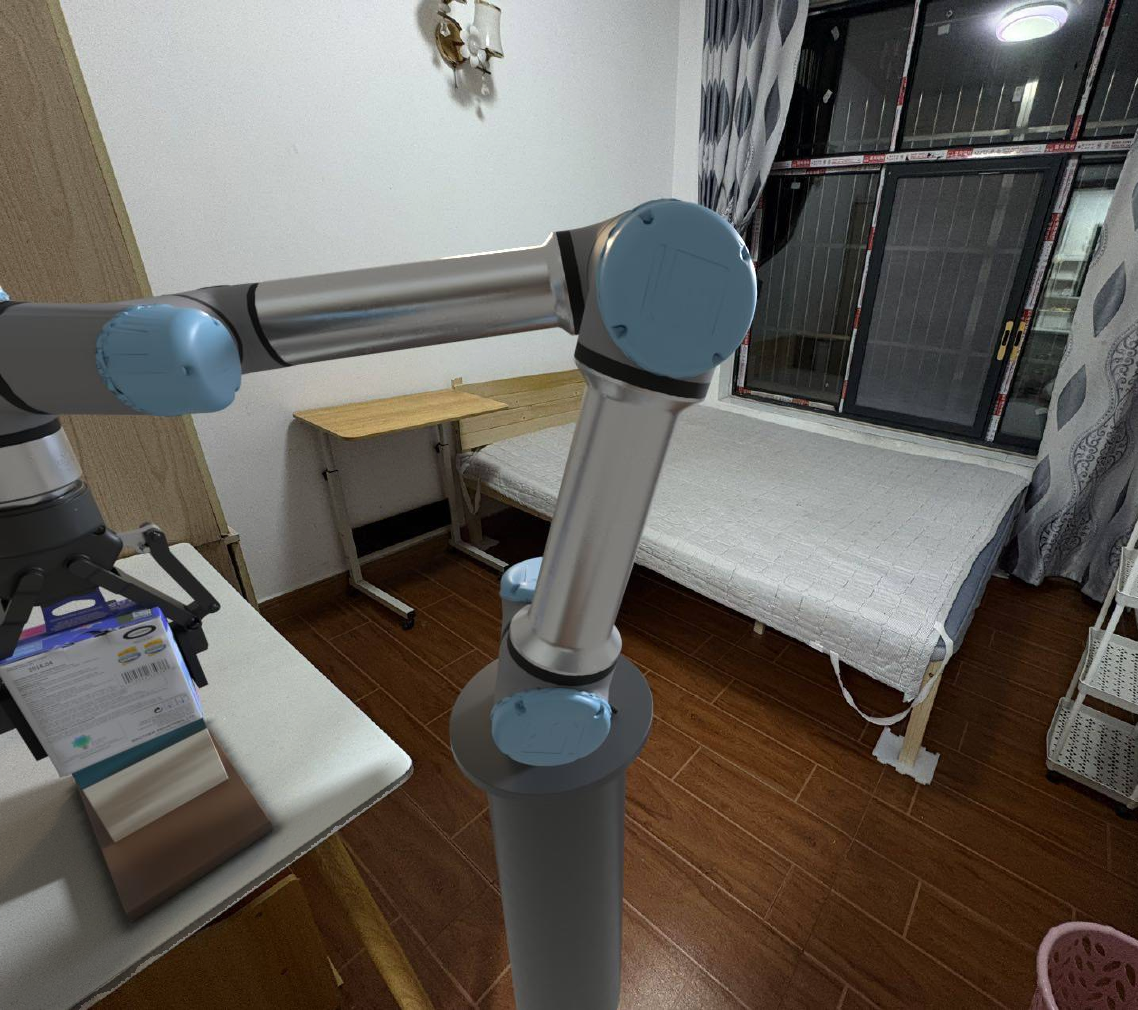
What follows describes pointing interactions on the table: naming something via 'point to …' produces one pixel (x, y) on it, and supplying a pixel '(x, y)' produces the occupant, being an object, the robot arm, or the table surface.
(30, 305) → the robot arm
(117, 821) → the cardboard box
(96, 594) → the ink cartridge box
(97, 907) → the table surface
